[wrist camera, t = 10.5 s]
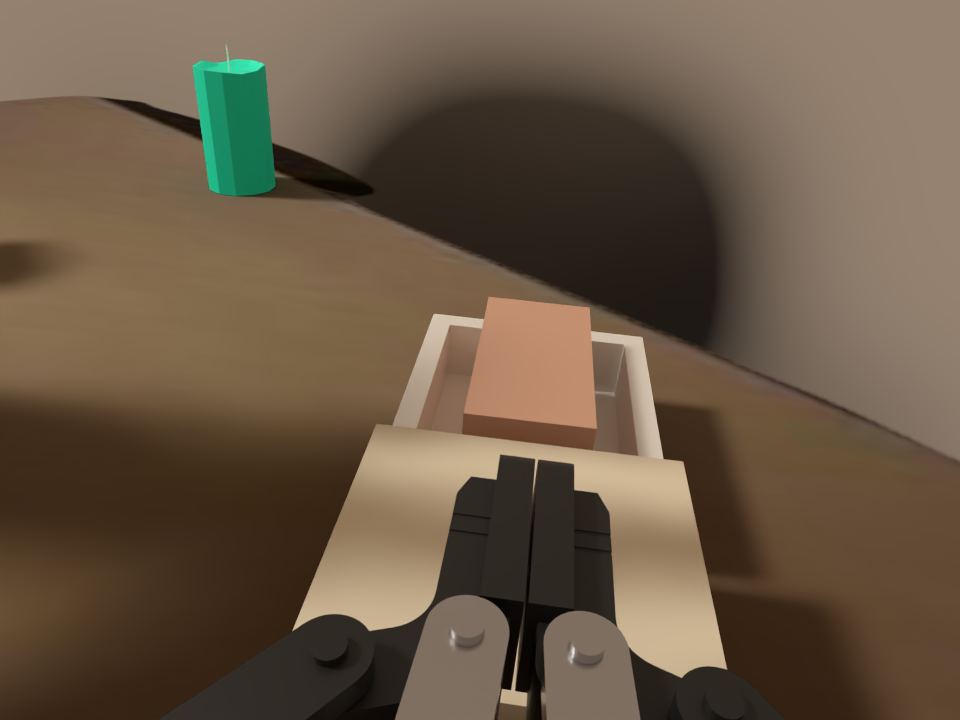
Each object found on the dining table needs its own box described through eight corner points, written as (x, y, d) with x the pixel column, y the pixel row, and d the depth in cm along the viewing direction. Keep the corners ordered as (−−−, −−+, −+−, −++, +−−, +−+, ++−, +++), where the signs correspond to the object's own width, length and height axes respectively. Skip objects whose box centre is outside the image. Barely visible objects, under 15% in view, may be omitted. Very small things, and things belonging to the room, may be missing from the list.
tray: (648, 566, 28) (669, 492, 26) (381, 531, 29) (380, 456, 27) (628, 400, 38) (642, 337, 36) (431, 376, 39) (433, 313, 37)
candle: (280, 176, 68) (268, 42, 61) (270, 197, 63) (257, 52, 56) (215, 174, 67) (197, 38, 61) (201, 194, 62) (179, 48, 56)
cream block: (684, 862, 19) (741, 738, 16) (294, 800, 20) (276, 670, 17) (650, 578, 28) (683, 461, 25) (378, 542, 28) (376, 423, 25)
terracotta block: (596, 428, 26) (589, 307, 34) (463, 413, 26) (488, 296, 35) (578, 526, 28) (575, 391, 37) (456, 511, 29) (482, 380, 37)
